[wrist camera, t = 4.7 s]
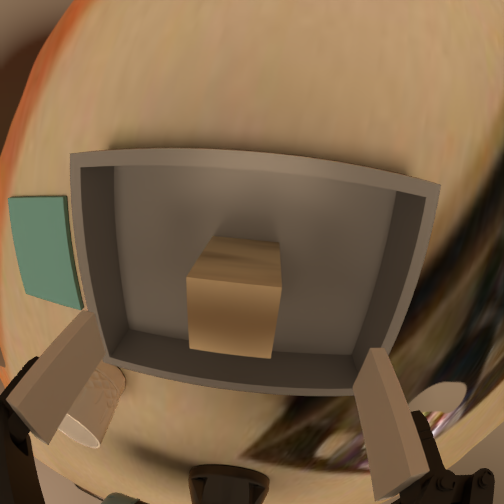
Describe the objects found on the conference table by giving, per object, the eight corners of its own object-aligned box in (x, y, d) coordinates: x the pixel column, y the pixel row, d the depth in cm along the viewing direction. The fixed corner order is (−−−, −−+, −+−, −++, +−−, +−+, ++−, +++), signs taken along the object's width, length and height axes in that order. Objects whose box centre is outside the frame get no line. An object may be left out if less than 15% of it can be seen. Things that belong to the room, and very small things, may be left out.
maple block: (271, 300, 22) (270, 358, 16) (211, 293, 23) (189, 348, 16) (279, 242, 21) (282, 287, 14) (212, 236, 21) (186, 277, 14)
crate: (357, 358, 25) (368, 394, 20) (124, 331, 26) (103, 362, 21) (407, 175, 18) (440, 184, 14) (107, 149, 19) (70, 153, 14)
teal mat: (83, 307, 25) (80, 310, 25) (28, 291, 26) (25, 293, 25) (66, 196, 21) (62, 197, 20) (11, 197, 21) (7, 198, 21)
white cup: (75, 338, 27) (32, 391, 18) (130, 364, 28) (94, 429, 18) (82, 376, 30) (50, 425, 21) (130, 399, 30) (104, 456, 21)
